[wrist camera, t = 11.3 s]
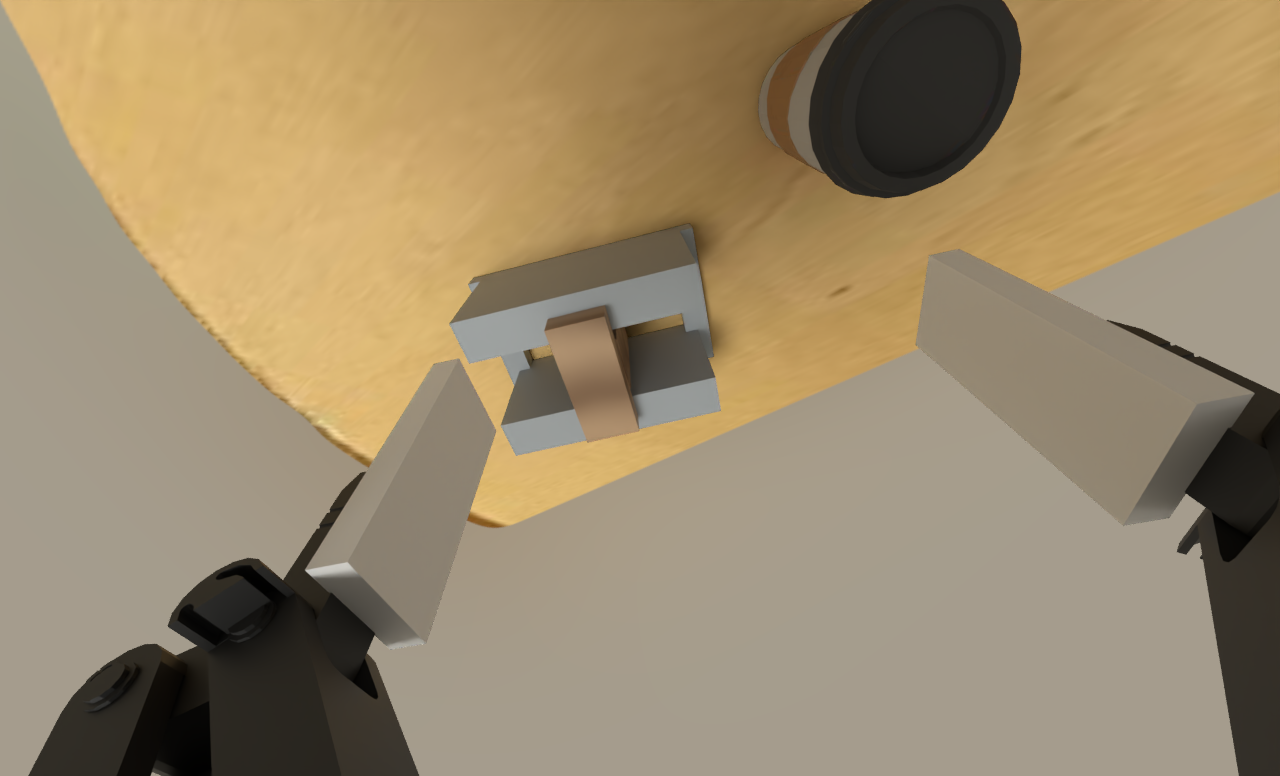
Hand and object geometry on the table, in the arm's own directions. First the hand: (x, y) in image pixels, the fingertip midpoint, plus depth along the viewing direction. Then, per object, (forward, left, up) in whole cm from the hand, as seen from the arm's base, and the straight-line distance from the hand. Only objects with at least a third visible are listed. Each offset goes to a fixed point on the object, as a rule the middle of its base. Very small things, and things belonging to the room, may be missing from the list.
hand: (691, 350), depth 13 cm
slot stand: (+9, -6, -25) cm, 27 cm away
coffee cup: (-3, +12, -25) cm, 28 cm away
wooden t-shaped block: (+9, -6, -24) cm, 26 cm away
